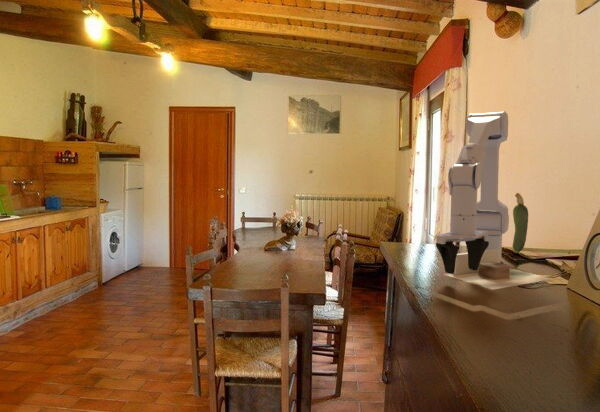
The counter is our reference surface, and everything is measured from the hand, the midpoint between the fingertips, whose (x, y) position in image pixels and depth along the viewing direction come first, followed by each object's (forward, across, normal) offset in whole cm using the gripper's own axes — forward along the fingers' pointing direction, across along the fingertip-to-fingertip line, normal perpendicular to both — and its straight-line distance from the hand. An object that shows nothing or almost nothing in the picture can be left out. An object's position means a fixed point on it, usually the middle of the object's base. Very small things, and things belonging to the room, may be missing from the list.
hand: (461, 271), depth 101 cm
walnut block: (+2, +11, 0) cm, 11 cm away
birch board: (+3, +12, 0) cm, 12 cm away
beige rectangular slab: (+2, +12, +6) cm, 14 cm away
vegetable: (+3, +45, +19) cm, 49 cm away
